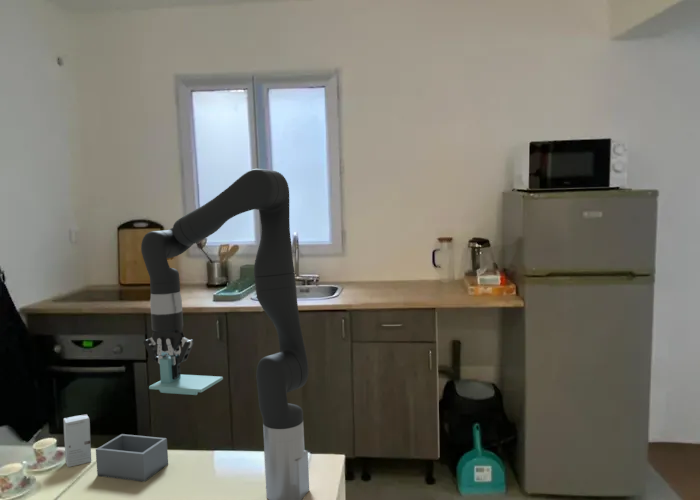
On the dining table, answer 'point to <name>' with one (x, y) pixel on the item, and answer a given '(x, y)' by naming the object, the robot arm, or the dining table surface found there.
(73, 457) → the skincare box
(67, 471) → the dining table surface
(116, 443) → the box
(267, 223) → the robot arm
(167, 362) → the tub lid
